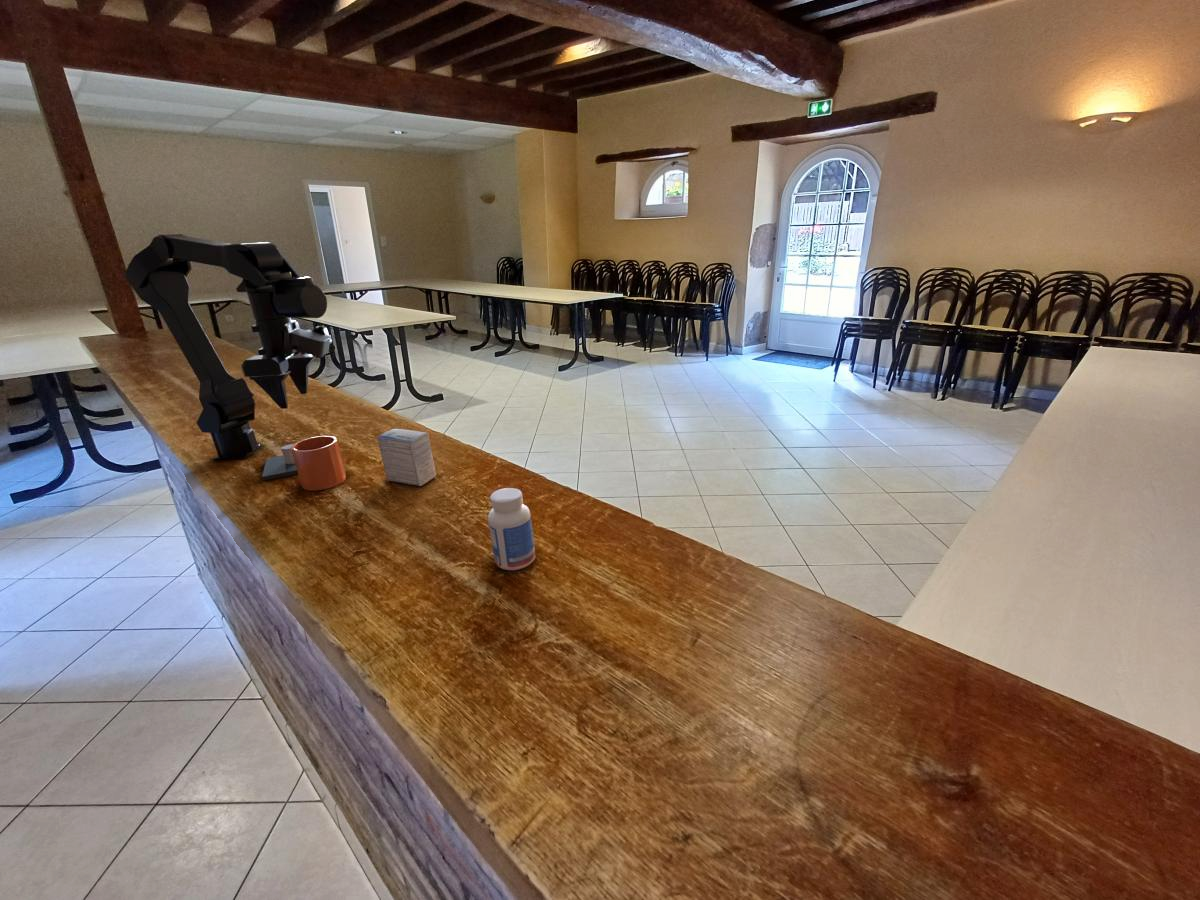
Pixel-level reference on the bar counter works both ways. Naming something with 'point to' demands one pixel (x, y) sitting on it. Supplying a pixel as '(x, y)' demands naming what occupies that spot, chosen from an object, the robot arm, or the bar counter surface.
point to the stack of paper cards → (407, 456)
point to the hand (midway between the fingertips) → (294, 400)
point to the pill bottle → (511, 530)
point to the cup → (318, 462)
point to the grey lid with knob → (280, 465)
